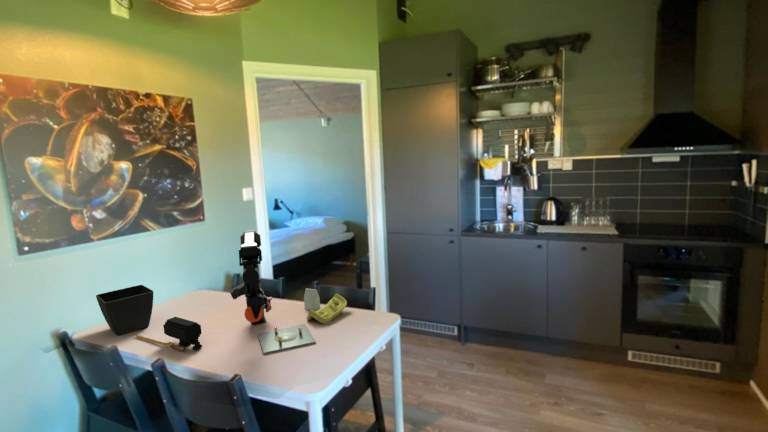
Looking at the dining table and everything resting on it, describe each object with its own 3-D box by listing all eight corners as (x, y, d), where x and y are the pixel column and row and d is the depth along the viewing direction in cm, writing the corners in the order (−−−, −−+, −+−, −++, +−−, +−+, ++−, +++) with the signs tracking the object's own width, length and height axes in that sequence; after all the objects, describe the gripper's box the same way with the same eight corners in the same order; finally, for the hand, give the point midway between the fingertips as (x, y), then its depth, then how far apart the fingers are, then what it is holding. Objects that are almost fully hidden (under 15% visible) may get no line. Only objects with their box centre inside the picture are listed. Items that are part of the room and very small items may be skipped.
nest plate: (257, 335, 173) (257, 333, 173) (304, 325, 180) (304, 323, 180) (263, 354, 155) (263, 352, 154) (315, 343, 162) (315, 341, 162)
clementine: (264, 316, 167) (263, 299, 166) (267, 322, 161) (266, 304, 160) (244, 320, 163) (242, 303, 162) (246, 326, 157) (245, 308, 156)
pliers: (280, 298, 221) (279, 294, 220) (268, 312, 201) (268, 307, 200) (259, 299, 221) (258, 294, 221) (245, 313, 201) (245, 308, 201)
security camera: (191, 353, 159) (188, 328, 157) (164, 344, 168) (161, 320, 167) (207, 346, 164) (204, 322, 163) (180, 337, 174) (177, 315, 173)
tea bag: (315, 311, 198) (314, 291, 197) (304, 309, 201) (303, 289, 200) (320, 308, 201) (318, 288, 200) (309, 306, 205) (308, 287, 203)
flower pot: (100, 329, 188) (95, 294, 186) (146, 317, 201) (141, 283, 199) (110, 340, 175) (104, 302, 172) (158, 326, 188) (154, 291, 186)
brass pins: (274, 333, 171) (274, 327, 171) (299, 328, 175) (298, 322, 175) (279, 344, 161) (278, 337, 160) (304, 339, 165) (304, 332, 164)
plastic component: (326, 320, 180) (308, 308, 183) (321, 333, 183) (304, 321, 186) (350, 302, 197) (334, 291, 200) (346, 314, 200) (330, 303, 203)
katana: (137, 338, 178) (136, 333, 178) (187, 351, 160) (186, 344, 160) (134, 340, 177) (133, 334, 176) (183, 352, 159) (182, 346, 159)
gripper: (229, 274, 165) (233, 311, 167) (230, 286, 148) (234, 327, 150) (258, 270, 169) (261, 306, 171) (262, 282, 152) (265, 322, 154)
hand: (255, 315), depth 162 cm, fingers closed on clementine, 7 cm apart
